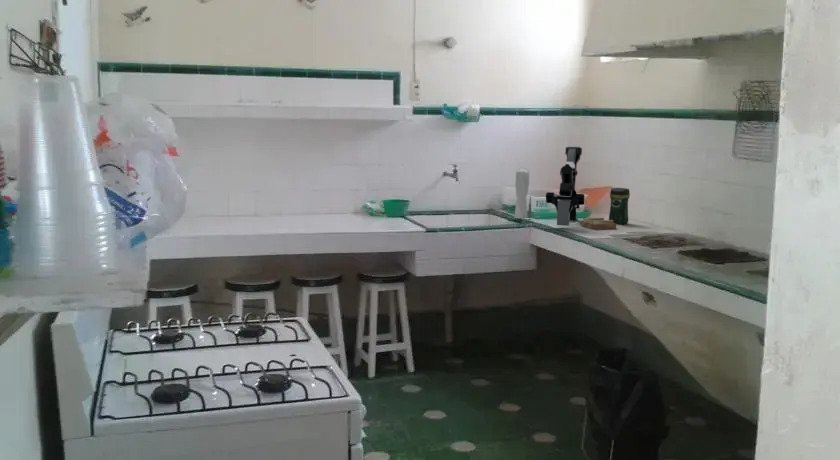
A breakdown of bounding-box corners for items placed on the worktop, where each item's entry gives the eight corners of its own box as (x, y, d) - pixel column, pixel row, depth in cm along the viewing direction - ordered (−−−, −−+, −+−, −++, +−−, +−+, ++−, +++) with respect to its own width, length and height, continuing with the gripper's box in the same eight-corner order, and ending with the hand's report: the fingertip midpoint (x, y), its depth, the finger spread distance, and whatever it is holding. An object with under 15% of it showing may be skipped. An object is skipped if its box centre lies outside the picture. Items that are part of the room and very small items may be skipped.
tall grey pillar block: (557, 223, 379) (559, 199, 377) (569, 224, 377) (570, 200, 375) (556, 225, 374) (557, 200, 372) (568, 225, 373) (569, 201, 371)
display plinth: (580, 225, 386) (580, 217, 386) (600, 224, 390) (601, 217, 389) (594, 229, 373) (595, 221, 372) (616, 229, 377) (616, 221, 376)
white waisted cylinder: (525, 221, 400) (527, 167, 396) (511, 219, 404) (513, 167, 400) (531, 219, 407) (533, 167, 403) (517, 218, 411) (519, 166, 407)
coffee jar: (630, 223, 397) (632, 188, 394) (623, 225, 391) (625, 189, 388) (613, 221, 403) (615, 186, 400) (606, 223, 397) (608, 187, 394)
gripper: (547, 175, 378) (543, 200, 370) (585, 177, 373) (582, 202, 364) (548, 190, 387) (544, 214, 378) (585, 192, 382) (582, 216, 373)
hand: (563, 211), depth 373 cm, fingers closed on tall grey pillar block, 5 cm apart
